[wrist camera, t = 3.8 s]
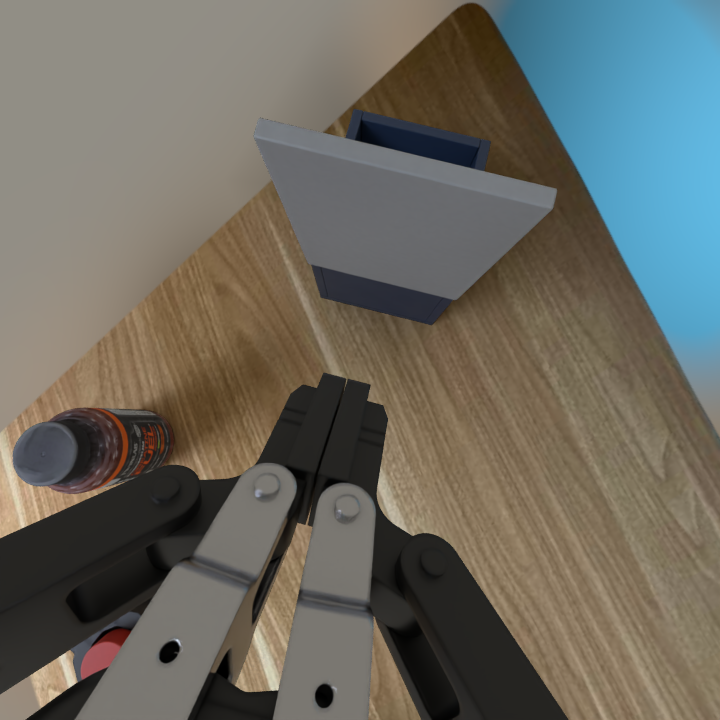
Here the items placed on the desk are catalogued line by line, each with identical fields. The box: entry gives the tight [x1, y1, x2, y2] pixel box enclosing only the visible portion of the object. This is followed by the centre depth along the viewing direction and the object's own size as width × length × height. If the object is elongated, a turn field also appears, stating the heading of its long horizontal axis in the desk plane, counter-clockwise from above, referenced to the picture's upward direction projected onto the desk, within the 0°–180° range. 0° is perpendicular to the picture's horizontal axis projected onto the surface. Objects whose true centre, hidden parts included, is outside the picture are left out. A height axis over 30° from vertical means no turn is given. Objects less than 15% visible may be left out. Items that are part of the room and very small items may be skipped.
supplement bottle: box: [13, 408, 174, 494], centre depth 29 cm, size 6×6×11 cm
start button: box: [81, 629, 131, 680], centre depth 28 cm, size 4×4×2 cm
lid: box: [254, 118, 557, 300], centre depth 20 cm, size 14×11×1 cm
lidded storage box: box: [312, 109, 491, 325], centre depth 33 cm, size 13×11×9 cm
